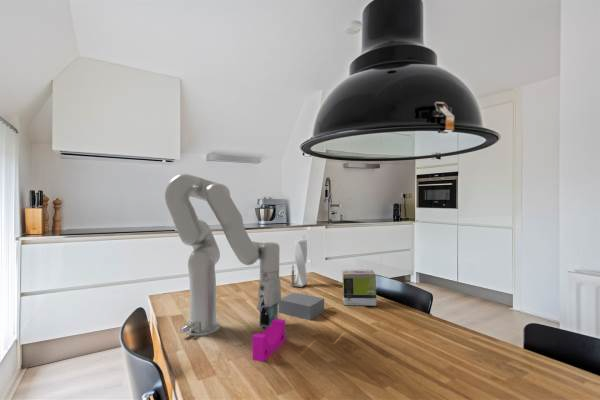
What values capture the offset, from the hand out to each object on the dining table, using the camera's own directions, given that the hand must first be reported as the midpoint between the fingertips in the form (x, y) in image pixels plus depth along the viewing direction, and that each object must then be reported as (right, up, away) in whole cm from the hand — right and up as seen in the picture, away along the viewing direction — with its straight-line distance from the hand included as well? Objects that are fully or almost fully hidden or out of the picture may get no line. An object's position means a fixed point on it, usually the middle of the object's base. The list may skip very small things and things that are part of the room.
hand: (268, 321), depth 120 cm
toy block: (+1, -3, -18) cm, 18 cm away
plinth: (+13, -2, +15) cm, 20 cm away
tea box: (+40, -2, +27) cm, 48 cm away
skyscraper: (+12, -2, +59) cm, 60 cm away
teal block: (0, -2, 0) cm, 2 cm away
